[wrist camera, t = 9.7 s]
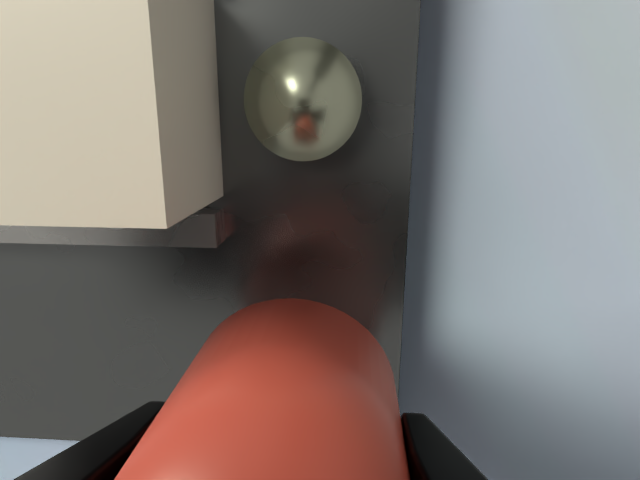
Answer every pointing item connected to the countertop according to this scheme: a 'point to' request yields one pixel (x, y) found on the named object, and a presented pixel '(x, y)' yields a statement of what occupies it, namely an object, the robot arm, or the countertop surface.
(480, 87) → the countertop surface
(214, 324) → the panel
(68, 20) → the block
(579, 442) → the countertop surface
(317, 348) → the lockout cap
